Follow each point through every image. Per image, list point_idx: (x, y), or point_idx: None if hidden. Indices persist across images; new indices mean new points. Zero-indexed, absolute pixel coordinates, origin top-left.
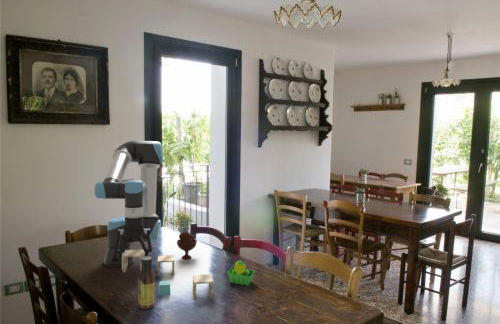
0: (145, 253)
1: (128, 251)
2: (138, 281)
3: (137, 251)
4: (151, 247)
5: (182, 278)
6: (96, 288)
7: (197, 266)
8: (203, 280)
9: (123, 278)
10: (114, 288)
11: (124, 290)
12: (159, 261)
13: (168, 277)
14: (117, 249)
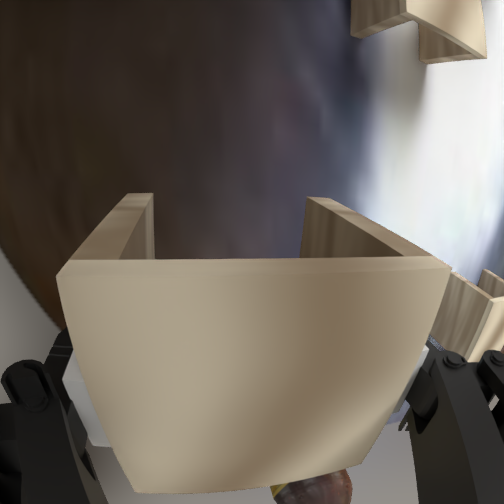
0: (406, 420)
1: (158, 381)
2: (270, 487)
3: (335, 377)
4: (496, 422)
5: (452, 128)
6: (6, 184)
7: (493, 27)
8: (489, 349)
9: (135, 33)
10: (94, 192)
11: (157, 228)
12: (416, 17)
13: (403, 88)
14: (21, 496)
